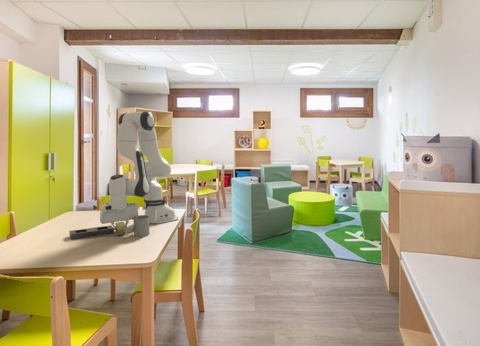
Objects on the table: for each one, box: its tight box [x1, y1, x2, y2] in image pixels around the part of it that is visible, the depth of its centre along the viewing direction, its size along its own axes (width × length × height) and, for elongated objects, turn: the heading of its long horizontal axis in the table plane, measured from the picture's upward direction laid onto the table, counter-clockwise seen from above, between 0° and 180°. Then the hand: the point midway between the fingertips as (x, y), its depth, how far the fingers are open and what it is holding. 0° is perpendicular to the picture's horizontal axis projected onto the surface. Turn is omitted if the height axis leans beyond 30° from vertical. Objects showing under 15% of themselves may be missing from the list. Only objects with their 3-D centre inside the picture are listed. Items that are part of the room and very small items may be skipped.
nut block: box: [114, 221, 126, 236], centre depth 188 cm, size 4×4×6 cm
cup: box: [132, 214, 151, 238], centre depth 189 cm, size 8×8×10 cm
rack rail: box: [68, 224, 115, 241], centre depth 189 cm, size 22×8×3 cm, turn 120°
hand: (120, 228), depth 189 cm, fingers closed on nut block, 4 cm apart
